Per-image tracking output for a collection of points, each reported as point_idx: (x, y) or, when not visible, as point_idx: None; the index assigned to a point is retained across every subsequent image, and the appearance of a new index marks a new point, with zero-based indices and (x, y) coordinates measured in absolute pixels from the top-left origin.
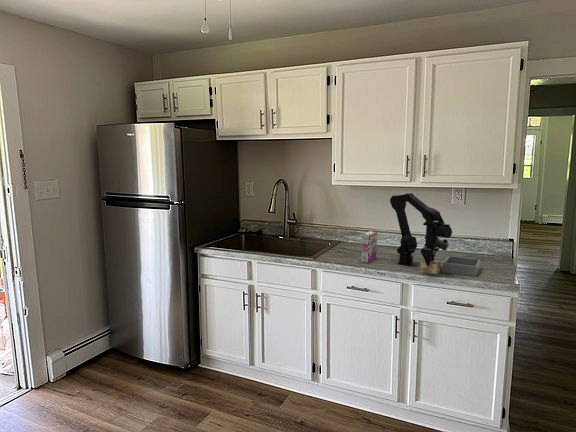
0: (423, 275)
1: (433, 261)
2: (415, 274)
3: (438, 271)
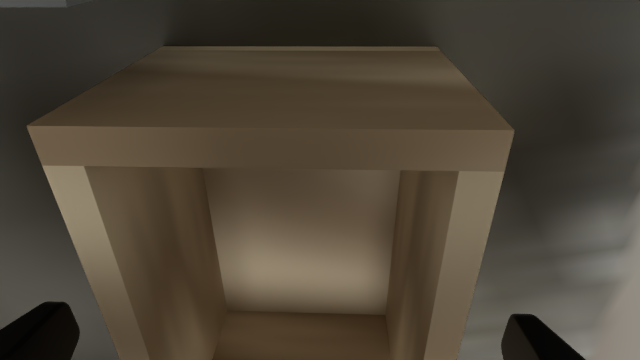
0: (621, 244)
1: (131, 308)
2: (588, 334)
3: (344, 54)
